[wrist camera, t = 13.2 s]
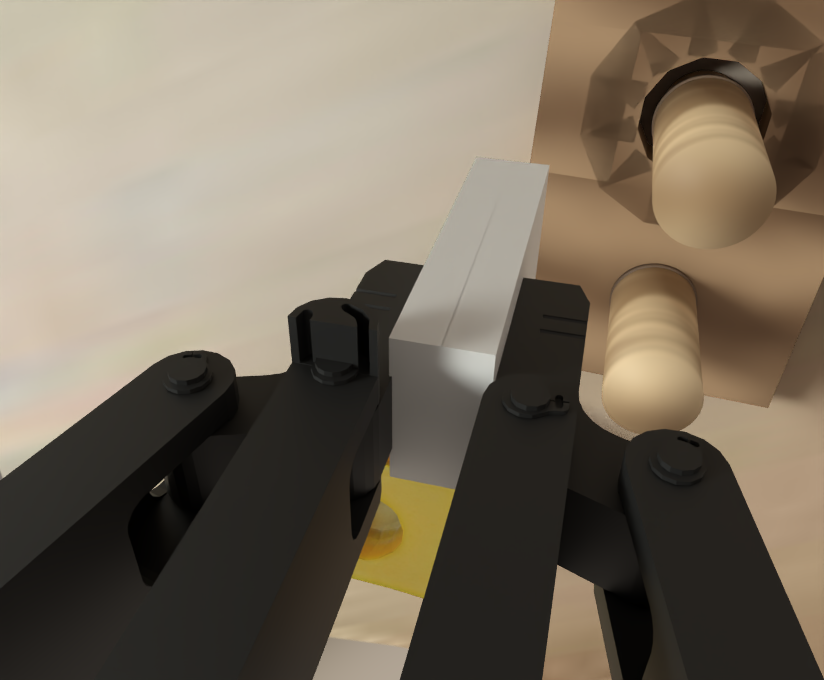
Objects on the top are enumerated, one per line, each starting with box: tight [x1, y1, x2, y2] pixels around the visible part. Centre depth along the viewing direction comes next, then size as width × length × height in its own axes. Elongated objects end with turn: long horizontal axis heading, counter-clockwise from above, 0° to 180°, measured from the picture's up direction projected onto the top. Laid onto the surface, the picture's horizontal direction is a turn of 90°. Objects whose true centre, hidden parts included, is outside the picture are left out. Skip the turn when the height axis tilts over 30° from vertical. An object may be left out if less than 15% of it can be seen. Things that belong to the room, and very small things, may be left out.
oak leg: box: [652, 70, 777, 249], centre depth 31 cm, size 4×4×10 cm
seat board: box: [530, 0, 824, 434], centre depth 32 cm, size 22×14×10 cm, turn 176°
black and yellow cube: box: [351, 455, 455, 598], centre depth 45 cm, size 10×10×10 cm
